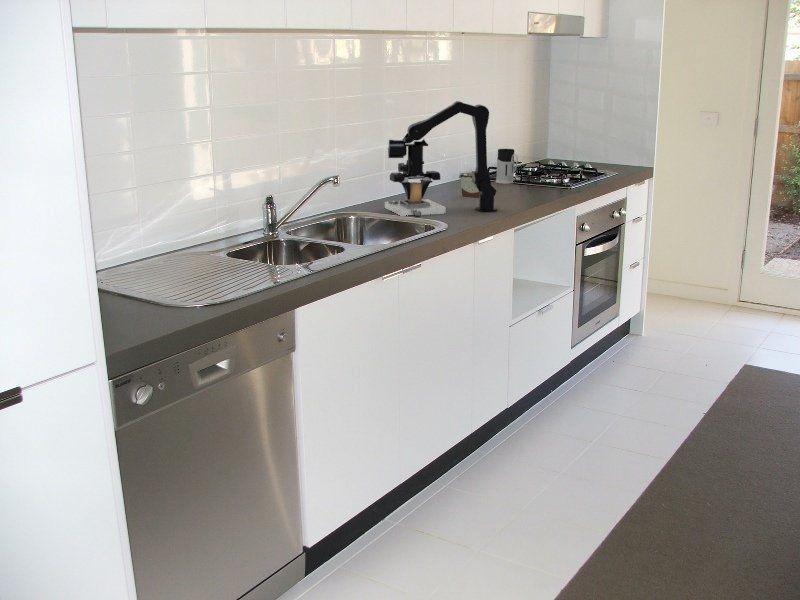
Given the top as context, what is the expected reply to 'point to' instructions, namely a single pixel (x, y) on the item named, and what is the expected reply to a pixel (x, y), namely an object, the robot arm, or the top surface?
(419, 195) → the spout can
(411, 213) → the gearbox housing
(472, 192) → the food container
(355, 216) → the top surface
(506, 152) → the grey jug
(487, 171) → the robot arm
